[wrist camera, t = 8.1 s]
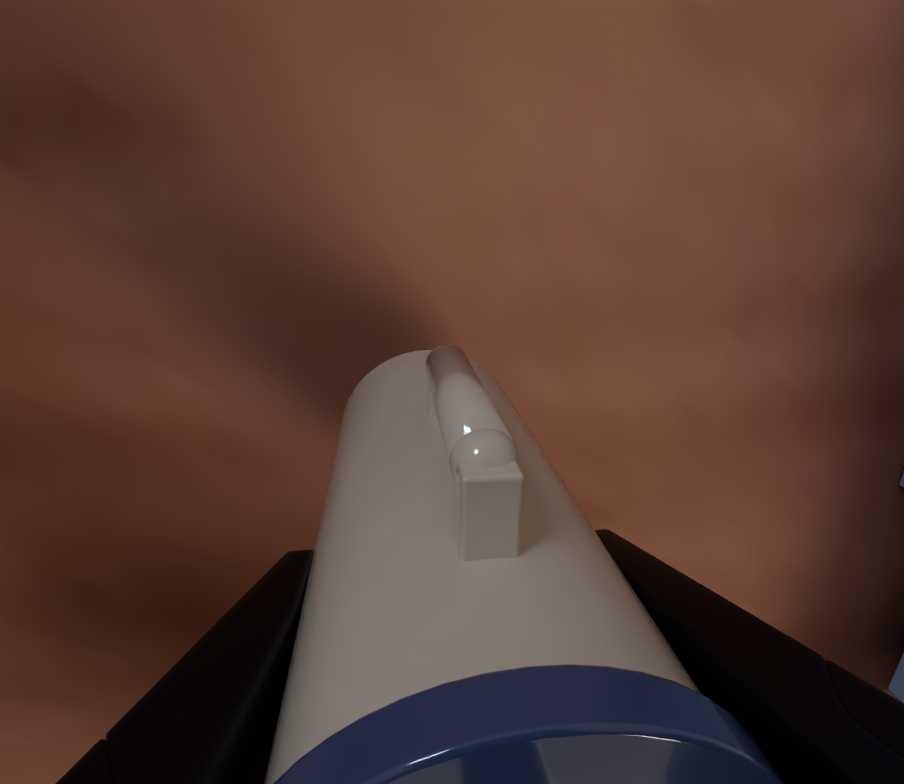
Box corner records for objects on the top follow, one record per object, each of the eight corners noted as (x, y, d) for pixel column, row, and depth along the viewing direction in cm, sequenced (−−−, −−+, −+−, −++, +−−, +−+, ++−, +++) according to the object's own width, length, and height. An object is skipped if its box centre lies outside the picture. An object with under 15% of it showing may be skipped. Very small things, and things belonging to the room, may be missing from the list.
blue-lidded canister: (511, 524, 14) (726, 1064, 5) (343, 535, 13) (259, 1162, 5) (525, 300, 12) (942, 570, 3) (324, 302, 11) (95, 645, 2)
